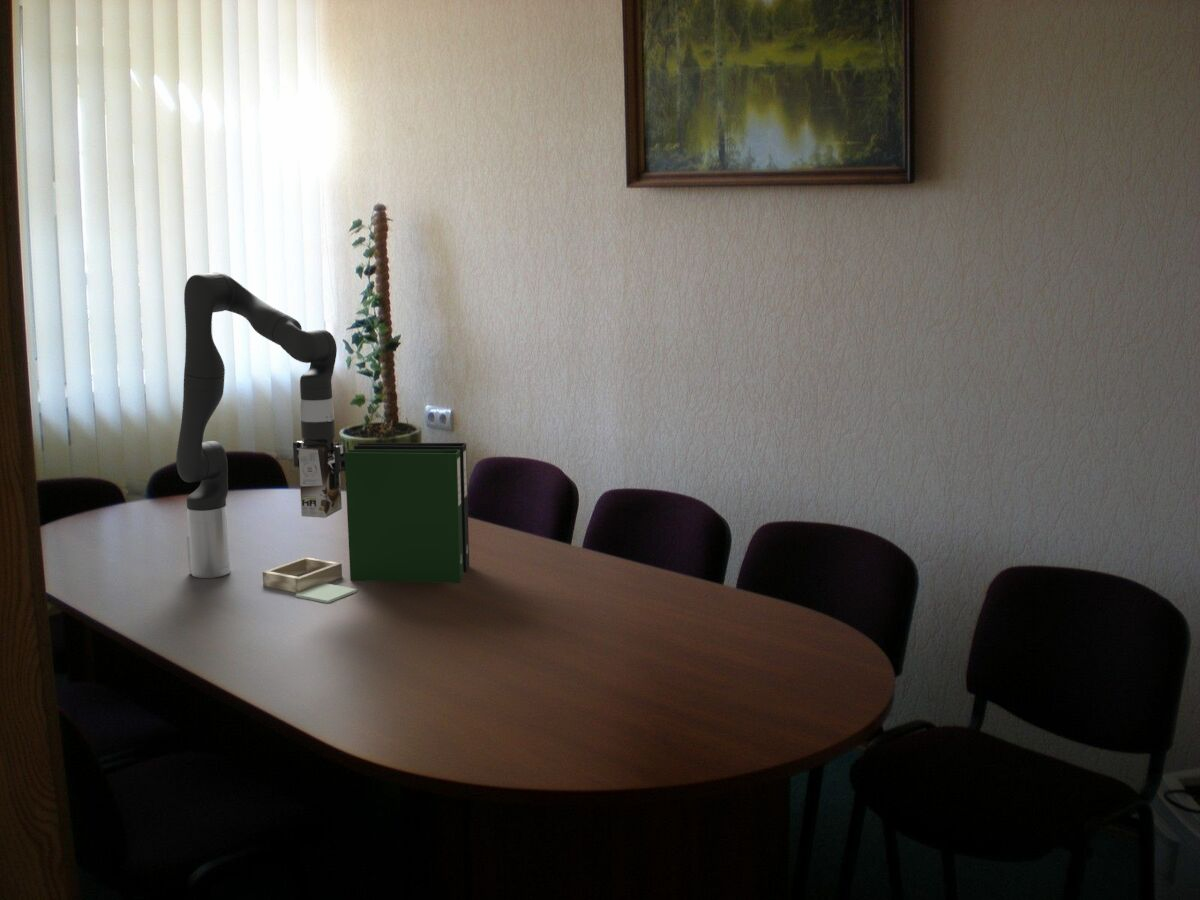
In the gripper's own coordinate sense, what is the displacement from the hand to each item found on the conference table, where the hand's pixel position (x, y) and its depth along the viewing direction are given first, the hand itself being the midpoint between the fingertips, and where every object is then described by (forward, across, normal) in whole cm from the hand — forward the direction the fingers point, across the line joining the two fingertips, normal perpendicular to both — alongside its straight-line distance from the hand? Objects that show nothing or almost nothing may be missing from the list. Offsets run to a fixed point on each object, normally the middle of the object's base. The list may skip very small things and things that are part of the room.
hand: (320, 487), depth 274 cm
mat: (+26, 0, 0) cm, 26 cm away
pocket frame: (+26, -12, +5) cm, 29 cm away
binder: (+26, +7, +23) cm, 35 cm away
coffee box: (+6, 0, 0) cm, 6 cm away
